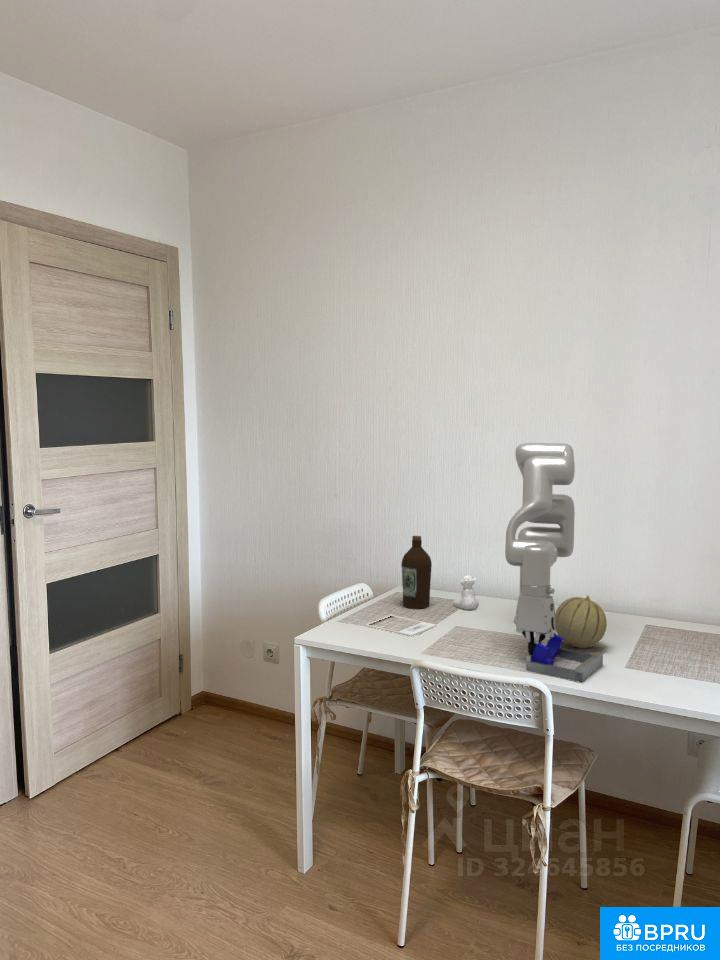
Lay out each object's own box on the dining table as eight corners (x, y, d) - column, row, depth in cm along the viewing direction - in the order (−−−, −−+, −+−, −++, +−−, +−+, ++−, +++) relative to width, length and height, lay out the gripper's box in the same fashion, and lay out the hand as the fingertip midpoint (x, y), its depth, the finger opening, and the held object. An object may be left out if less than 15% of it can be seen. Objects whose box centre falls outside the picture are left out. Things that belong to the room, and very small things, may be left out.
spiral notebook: (411, 634, 222) (364, 624, 233) (411, 638, 223) (364, 627, 234) (436, 624, 234) (391, 614, 245) (436, 627, 234) (391, 617, 245)
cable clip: (544, 671, 192) (552, 652, 191) (529, 663, 195) (536, 643, 193) (561, 659, 202) (568, 641, 200) (546, 651, 204) (553, 633, 203)
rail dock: (550, 654, 206) (550, 640, 206) (602, 665, 197) (603, 651, 197) (525, 670, 194) (526, 655, 193) (580, 682, 185) (581, 667, 184)
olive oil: (415, 600, 266) (416, 532, 264) (437, 606, 258) (438, 536, 256) (395, 605, 259) (395, 536, 257) (417, 611, 251) (417, 539, 249)
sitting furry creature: (478, 604, 261) (478, 571, 260) (484, 611, 252) (484, 576, 251) (452, 605, 260) (452, 572, 259) (457, 611, 252) (457, 577, 250)
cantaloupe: (544, 647, 213) (545, 596, 212) (567, 635, 224) (568, 588, 223) (592, 658, 203) (594, 605, 202) (614, 646, 214) (615, 596, 213)
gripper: (567, 592, 197) (565, 658, 198) (516, 584, 206) (515, 647, 208) (555, 597, 191) (554, 665, 192) (504, 588, 200) (503, 654, 202)
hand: (534, 655), depth 200 cm, fingers closed
